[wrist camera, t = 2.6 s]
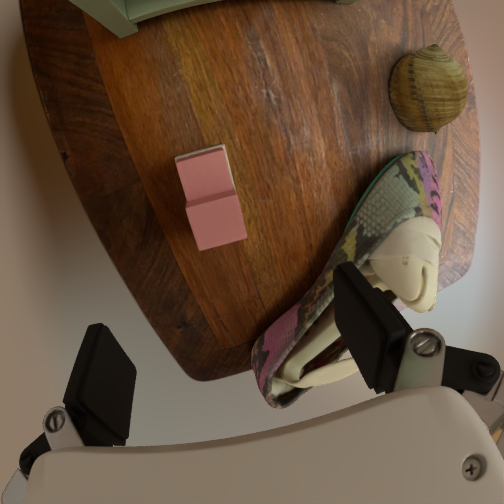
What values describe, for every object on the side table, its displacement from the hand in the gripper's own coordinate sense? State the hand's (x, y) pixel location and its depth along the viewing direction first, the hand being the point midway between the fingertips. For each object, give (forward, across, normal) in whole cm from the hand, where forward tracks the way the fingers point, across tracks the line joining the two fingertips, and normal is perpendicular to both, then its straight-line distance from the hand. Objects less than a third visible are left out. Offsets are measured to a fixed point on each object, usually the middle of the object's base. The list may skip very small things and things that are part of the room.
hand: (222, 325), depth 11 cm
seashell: (+16, -22, -7) cm, 28 cm away
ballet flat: (+16, -11, +10) cm, 22 cm away
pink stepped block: (+15, 0, -1) cm, 15 cm away
